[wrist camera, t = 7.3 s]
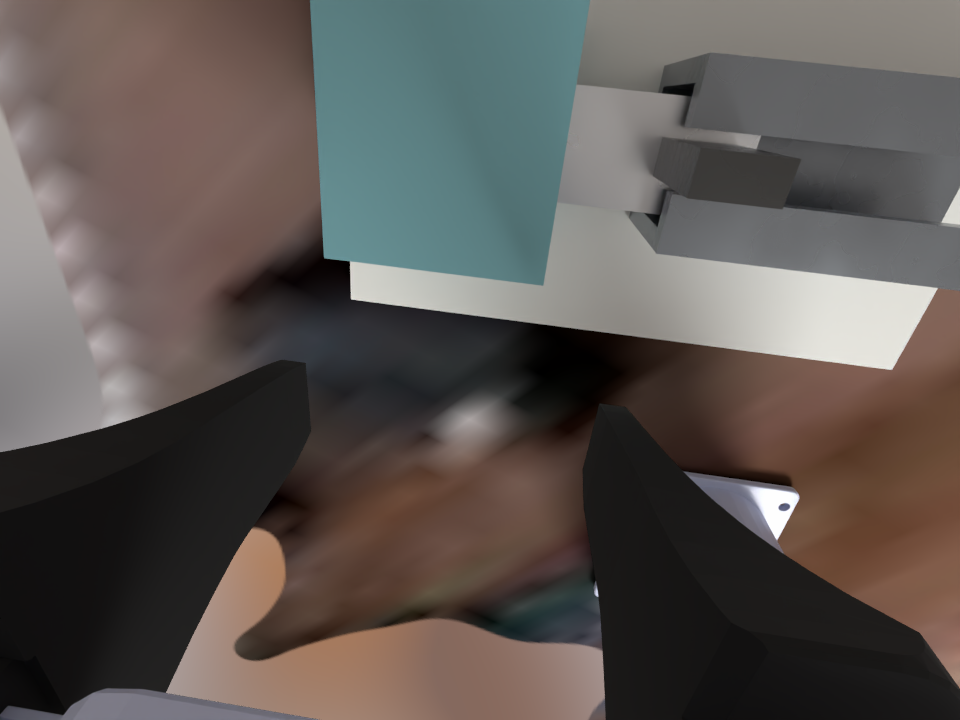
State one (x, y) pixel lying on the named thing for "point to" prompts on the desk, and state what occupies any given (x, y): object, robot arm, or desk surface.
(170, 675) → the robot arm
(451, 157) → the socket
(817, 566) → the desk surface
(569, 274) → the base board
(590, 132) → the bar
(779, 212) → the grey rail guide
